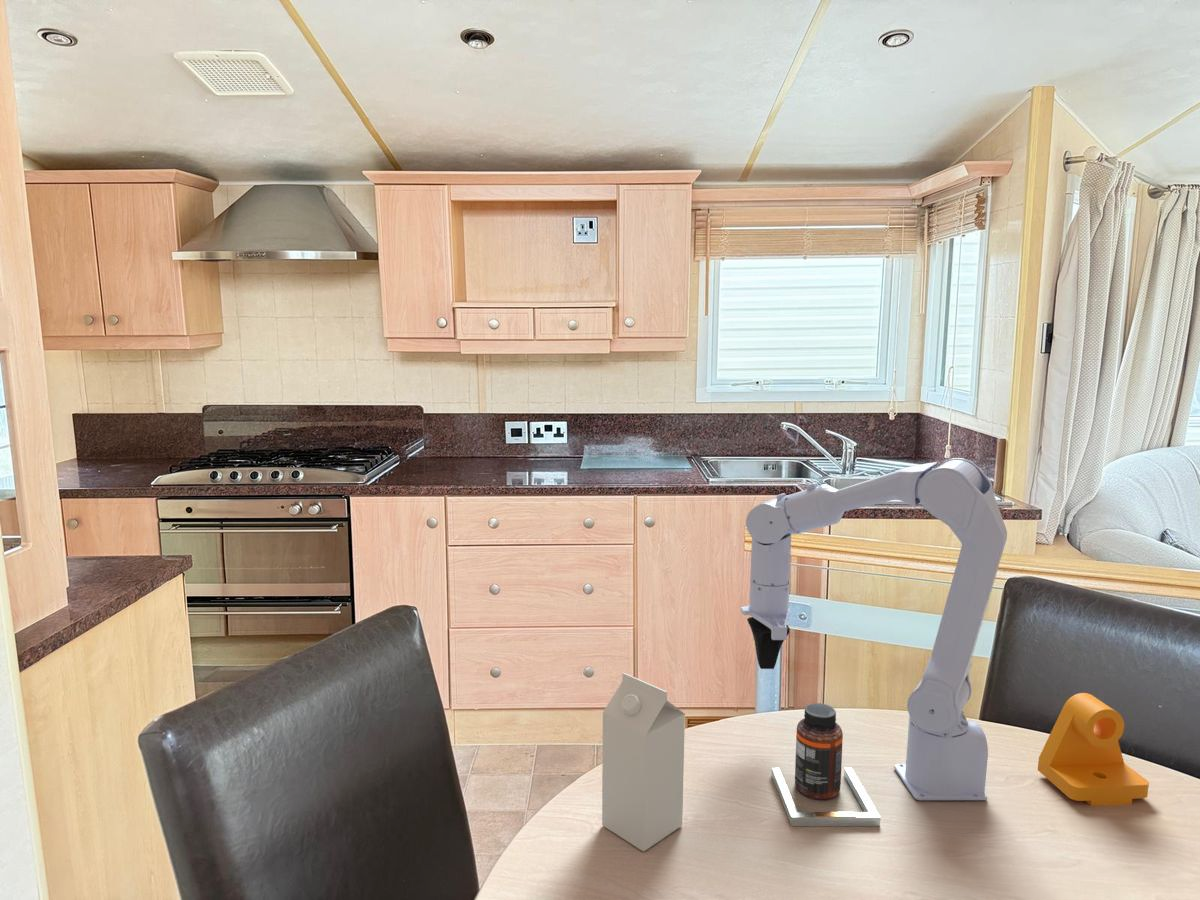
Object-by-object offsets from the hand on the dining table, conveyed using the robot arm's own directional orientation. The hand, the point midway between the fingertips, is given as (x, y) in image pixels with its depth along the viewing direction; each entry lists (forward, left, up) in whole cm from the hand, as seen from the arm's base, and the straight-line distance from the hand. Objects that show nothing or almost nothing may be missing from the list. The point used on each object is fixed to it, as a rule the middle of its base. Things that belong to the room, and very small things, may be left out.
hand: (766, 667), depth 118 cm
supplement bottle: (-4, +15, -11) cm, 19 cm away
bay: (-4, +17, -10) cm, 20 cm away
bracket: (-41, +15, -11) cm, 45 cm away
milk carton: (+20, +23, -11) cm, 32 cm away
